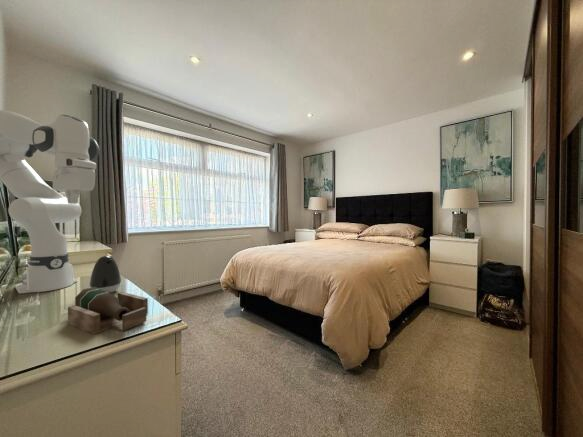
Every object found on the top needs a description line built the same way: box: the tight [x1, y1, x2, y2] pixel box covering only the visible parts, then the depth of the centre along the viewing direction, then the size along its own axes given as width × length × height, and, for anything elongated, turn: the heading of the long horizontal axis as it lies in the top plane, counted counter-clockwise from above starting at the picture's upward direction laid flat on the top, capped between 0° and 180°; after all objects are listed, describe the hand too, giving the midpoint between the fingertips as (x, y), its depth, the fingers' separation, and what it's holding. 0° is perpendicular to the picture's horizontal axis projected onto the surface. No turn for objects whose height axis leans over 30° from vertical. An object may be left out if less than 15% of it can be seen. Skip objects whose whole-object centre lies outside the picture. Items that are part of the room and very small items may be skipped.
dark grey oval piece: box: [89, 255, 122, 294], centre depth 98 cm, size 10×10×15 cm
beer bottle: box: [74, 287, 129, 321], centre depth 74 cm, size 8×8×24 cm
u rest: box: [67, 291, 149, 336], centre depth 73 cm, size 20×15×5 cm
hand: (72, 203), depth 83 cm, fingers closed
